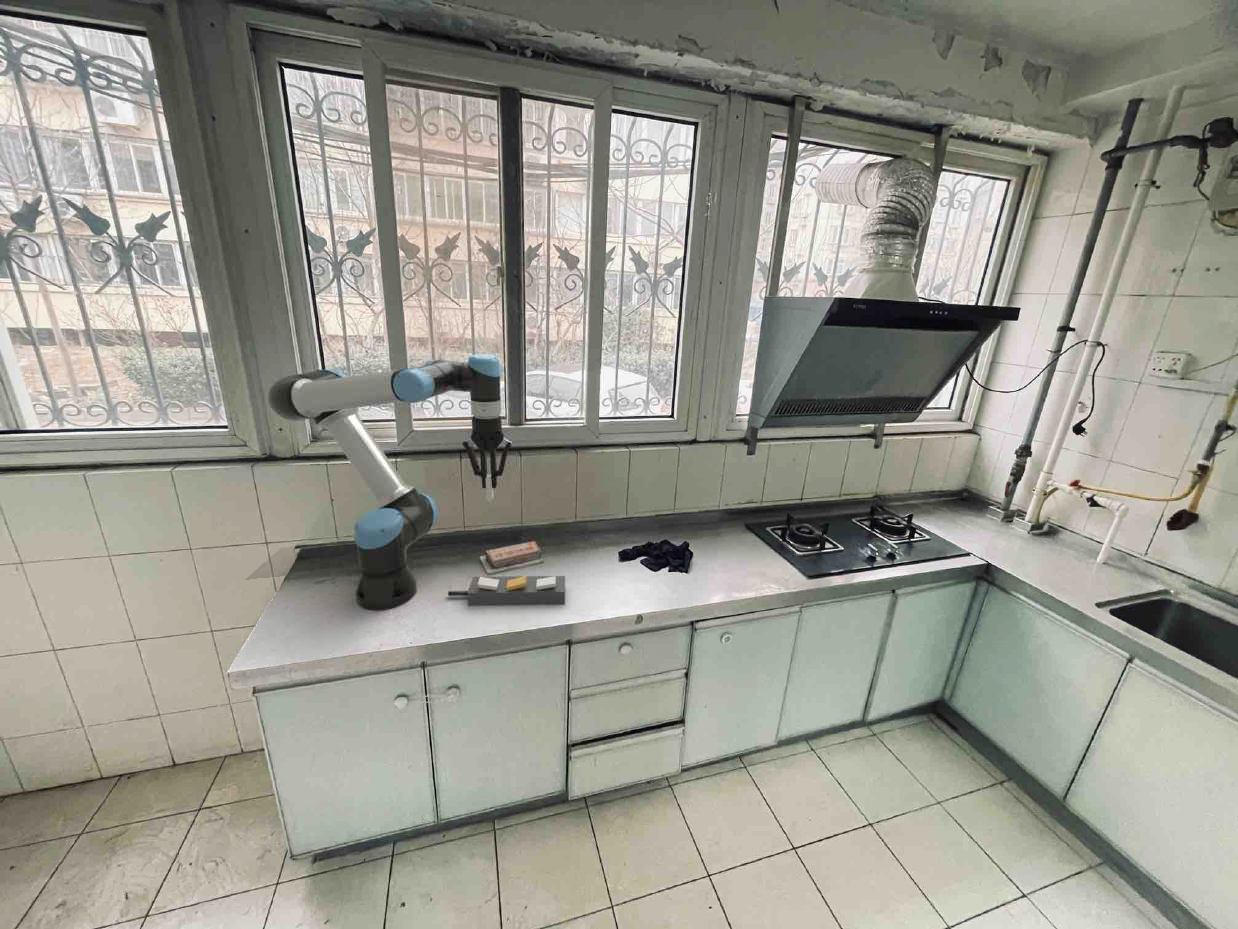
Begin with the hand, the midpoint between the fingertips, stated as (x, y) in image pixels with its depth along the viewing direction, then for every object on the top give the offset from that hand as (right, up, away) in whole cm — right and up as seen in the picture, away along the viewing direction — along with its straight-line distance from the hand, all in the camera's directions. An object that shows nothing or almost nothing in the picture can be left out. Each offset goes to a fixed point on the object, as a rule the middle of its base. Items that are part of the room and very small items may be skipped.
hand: (490, 498), depth 135 cm
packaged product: (+2, -22, +20) cm, 30 cm away
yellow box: (+8, -24, -1) cm, 25 cm away
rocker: (+16, -24, 0) cm, 29 cm away
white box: (0, -24, -2) cm, 24 cm away
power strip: (+4, -28, +2) cm, 28 cm away
